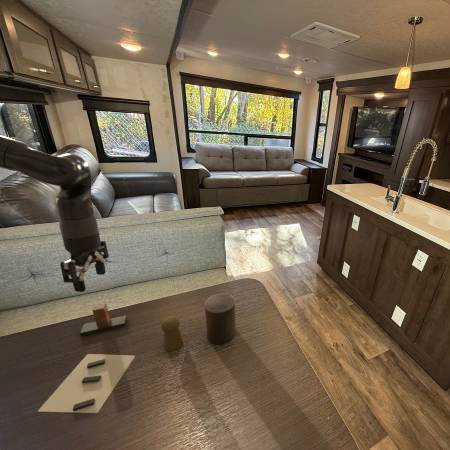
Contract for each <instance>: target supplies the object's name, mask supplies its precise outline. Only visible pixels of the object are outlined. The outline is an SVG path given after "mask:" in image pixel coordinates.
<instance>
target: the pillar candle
mask: <svg viewBox="0 0 450 450" xmlns="http://www.w3.org/2000/svg"><path fill="white" fill-rule="evenodd" d="M235 299H236V298H235V297H234V296H233V295H232V294H228V293H217V294H213V295H210V297H208V298H207V299H206V301H205V303H204V312H205V313H204V314H205V325H206V327H205V328H206V336H207V340H208V341H209V342H210V343H211V344H214V345H224V344H227V343H229V342H231V340H233V339H234V337H235V336H236V332H237V328H236V326H237V325H236V300H235ZM234 335H235V336H234Z"/></svg>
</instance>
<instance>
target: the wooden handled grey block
mask: <svg viewBox="0 0 450 450" xmlns="http://www.w3.org/2000/svg"><path fill="white" fill-rule="evenodd" d="M92 314H93V317H94V321H92V322H88V323H83V325H82V327H81V329H80V331H79V334H80V337H84V336H87V335H88V336H89V335H92V334H98V333H102V332H105V331H110V330H115V329H119V328H123V327H126V326H127V322H128V321H127V320H128V316H127V315H121V316H117V317H112V318H111V316H110V313H109V309H108V305H107V302H100V303H95V304H94V305H93V307H92Z"/></svg>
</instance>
